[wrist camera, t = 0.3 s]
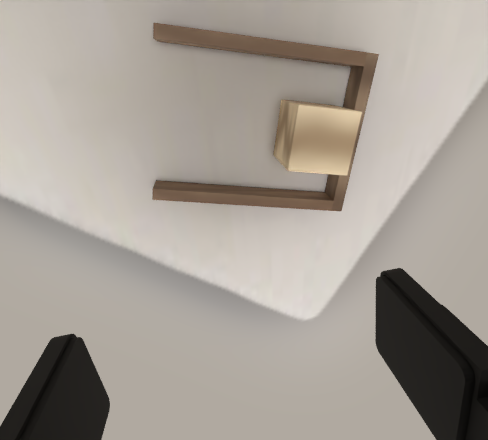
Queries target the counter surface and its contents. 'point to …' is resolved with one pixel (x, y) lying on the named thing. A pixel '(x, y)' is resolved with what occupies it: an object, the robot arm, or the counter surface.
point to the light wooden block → (316, 137)
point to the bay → (358, 61)
